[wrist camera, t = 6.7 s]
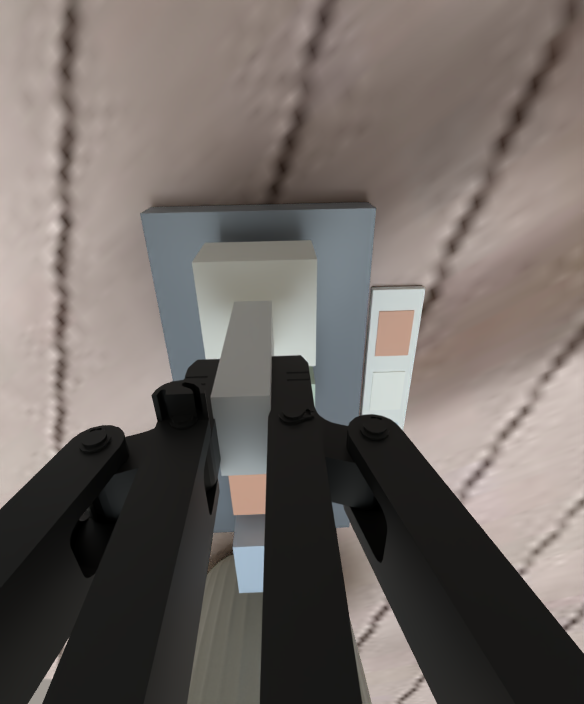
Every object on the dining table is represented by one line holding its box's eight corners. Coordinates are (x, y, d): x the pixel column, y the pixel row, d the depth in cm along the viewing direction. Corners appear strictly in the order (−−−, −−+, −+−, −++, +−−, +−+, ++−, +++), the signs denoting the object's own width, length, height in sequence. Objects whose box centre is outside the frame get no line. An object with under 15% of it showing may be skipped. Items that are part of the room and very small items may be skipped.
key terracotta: (231, 422, 26) (225, 457, 23) (308, 419, 26) (311, 454, 23) (237, 477, 28) (233, 515, 25) (307, 474, 28) (311, 512, 25)
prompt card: (371, 287, 24) (373, 290, 24) (422, 286, 24) (425, 289, 24) (355, 464, 32) (357, 470, 31) (395, 463, 32) (397, 468, 31)
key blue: (237, 504, 27) (232, 547, 24) (309, 501, 27) (312, 544, 24) (242, 549, 30) (239, 593, 27) (308, 546, 30) (312, 589, 27)
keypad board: (151, 207, 22) (125, 222, 18) (368, 202, 22) (386, 216, 18) (206, 512, 34) (198, 558, 30) (345, 506, 34) (353, 552, 30)
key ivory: (204, 242, 18) (191, 262, 16) (311, 240, 18) (317, 259, 16) (216, 337, 21) (207, 369, 18) (310, 334, 21) (315, 366, 18)
